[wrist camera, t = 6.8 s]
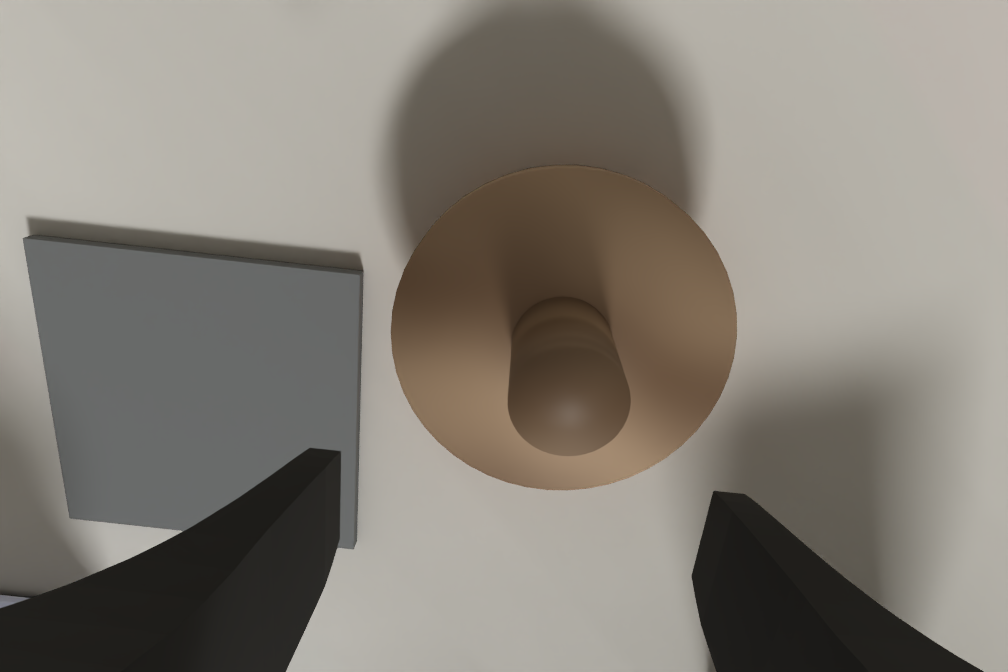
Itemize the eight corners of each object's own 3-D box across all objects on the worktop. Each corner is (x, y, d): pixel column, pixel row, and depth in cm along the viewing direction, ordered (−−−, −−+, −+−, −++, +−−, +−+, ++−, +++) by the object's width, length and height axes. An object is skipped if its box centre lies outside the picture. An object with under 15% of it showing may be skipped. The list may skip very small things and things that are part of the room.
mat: (356, 540, 26) (353, 549, 25) (78, 510, 26) (69, 518, 25) (363, 271, 22) (359, 275, 21) (33, 235, 22) (22, 238, 21)
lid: (674, 500, 21) (709, 602, 17) (377, 444, 20) (339, 534, 16) (776, 204, 17) (852, 241, 13) (421, 131, 17) (387, 145, 13)
